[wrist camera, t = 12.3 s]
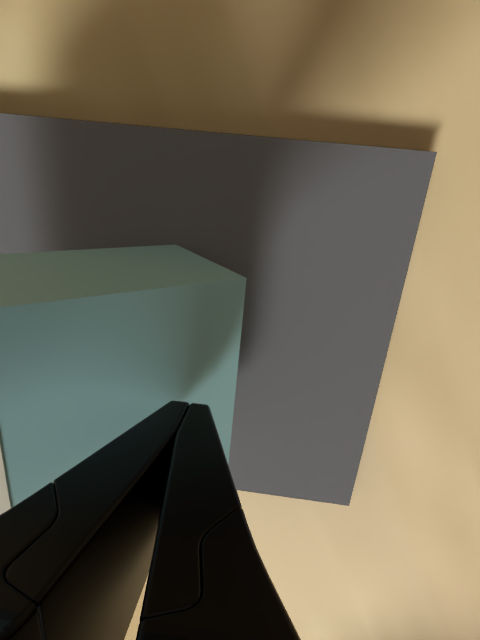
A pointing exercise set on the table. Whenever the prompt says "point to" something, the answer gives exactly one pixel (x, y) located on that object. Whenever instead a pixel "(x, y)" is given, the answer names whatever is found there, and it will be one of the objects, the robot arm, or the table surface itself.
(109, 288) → the pale teal block
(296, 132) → the table surface
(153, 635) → the robot arm
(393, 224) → the mat
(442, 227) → the table surface
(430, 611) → the table surface
